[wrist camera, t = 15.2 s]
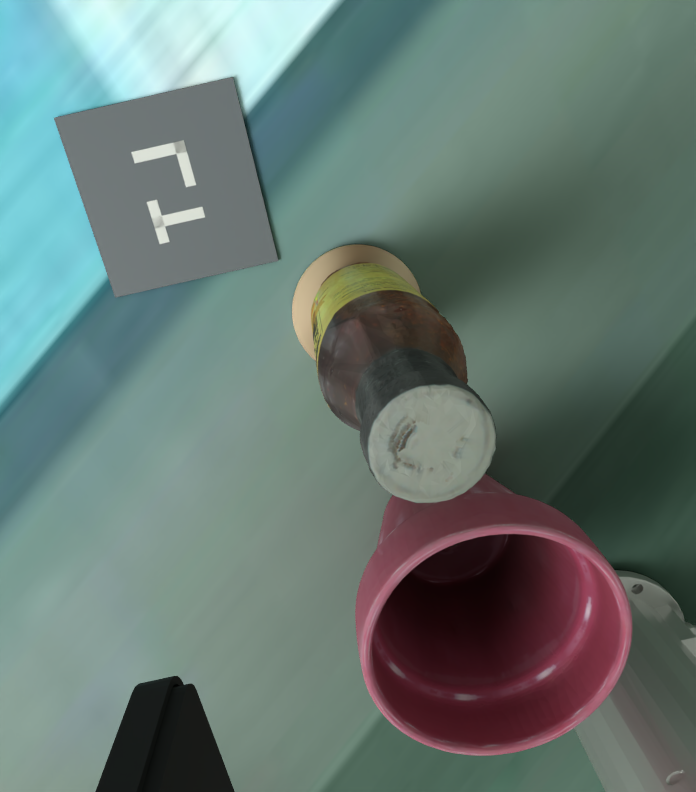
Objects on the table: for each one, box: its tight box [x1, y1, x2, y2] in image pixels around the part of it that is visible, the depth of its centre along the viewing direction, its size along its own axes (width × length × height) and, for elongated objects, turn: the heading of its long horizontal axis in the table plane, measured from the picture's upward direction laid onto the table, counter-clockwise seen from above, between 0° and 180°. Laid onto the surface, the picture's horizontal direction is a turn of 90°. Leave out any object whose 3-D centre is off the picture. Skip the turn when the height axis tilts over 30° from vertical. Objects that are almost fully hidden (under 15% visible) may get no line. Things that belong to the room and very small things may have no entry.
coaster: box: [292, 244, 421, 361], centre depth 37 cm, size 8×8×1 cm
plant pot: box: [355, 474, 632, 755], centre depth 36 cm, size 14×14×13 cm
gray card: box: [54, 77, 278, 297], centre depth 34 cm, size 10×10×1 cm
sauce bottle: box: [311, 262, 497, 503], centre depth 27 cm, size 7×6×20 cm
